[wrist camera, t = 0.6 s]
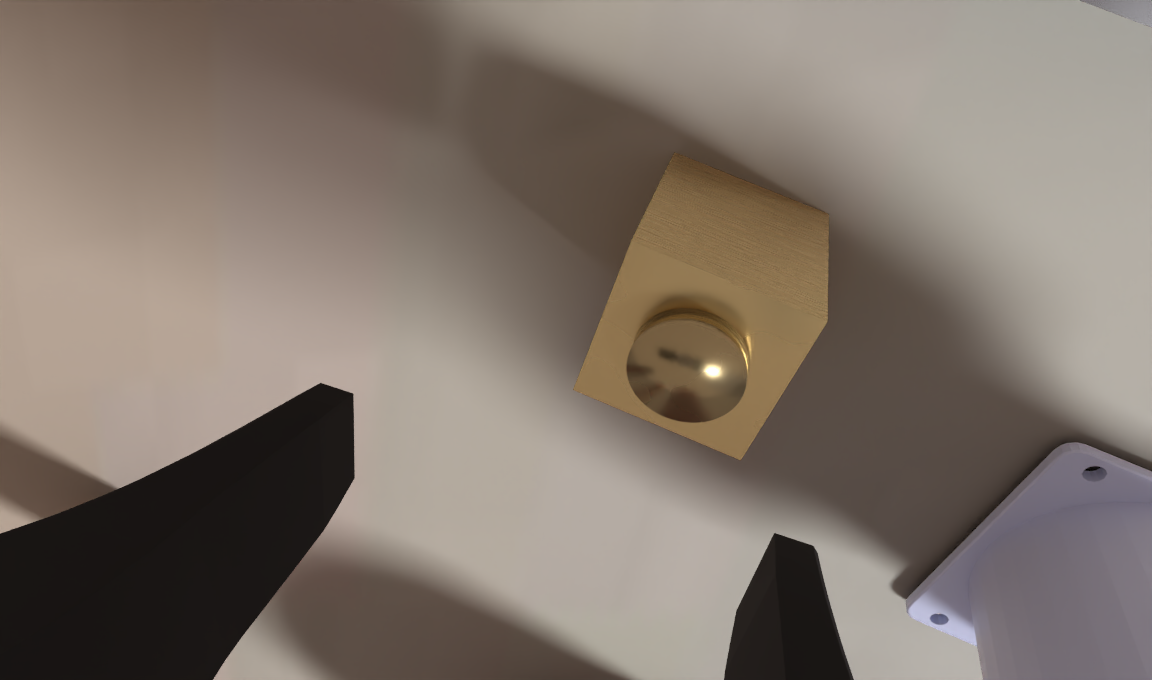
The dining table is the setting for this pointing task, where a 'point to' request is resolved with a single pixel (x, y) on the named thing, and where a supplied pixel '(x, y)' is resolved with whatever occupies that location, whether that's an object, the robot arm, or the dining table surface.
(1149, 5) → the rack rail
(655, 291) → the knobbed gold cube
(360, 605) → the dining table surface
